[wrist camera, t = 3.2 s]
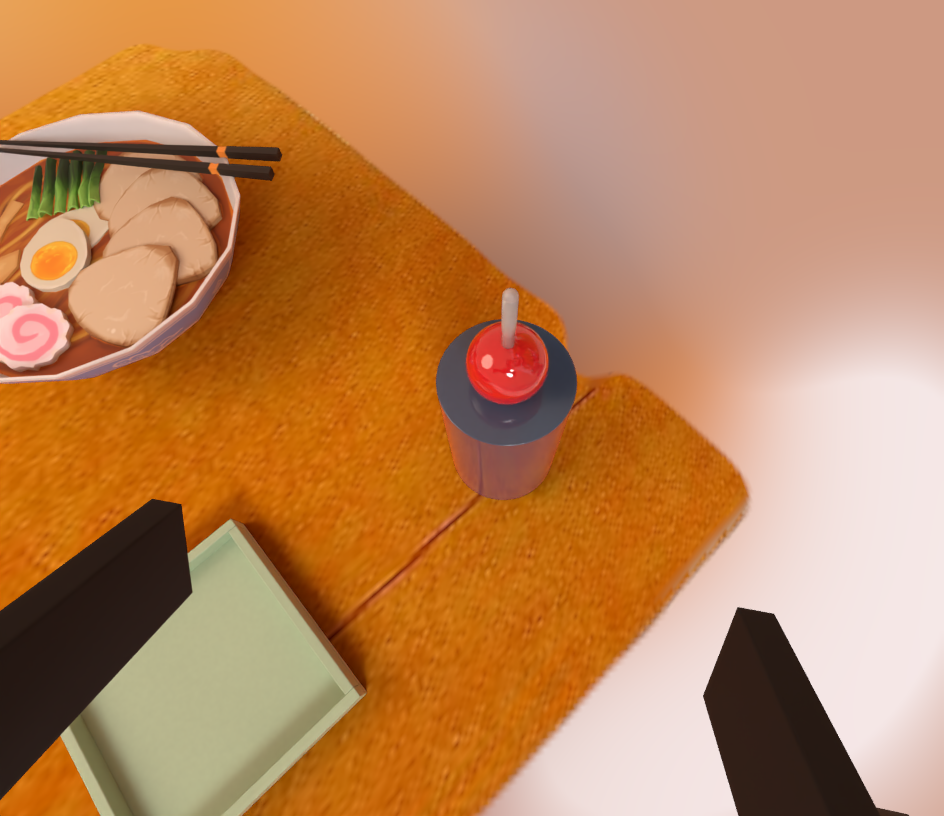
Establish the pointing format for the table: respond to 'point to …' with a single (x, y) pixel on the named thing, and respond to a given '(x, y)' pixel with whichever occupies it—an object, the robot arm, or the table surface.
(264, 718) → the serving tray
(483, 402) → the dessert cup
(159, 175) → the ramen bowl
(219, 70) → the table surface
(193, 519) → the table surface
